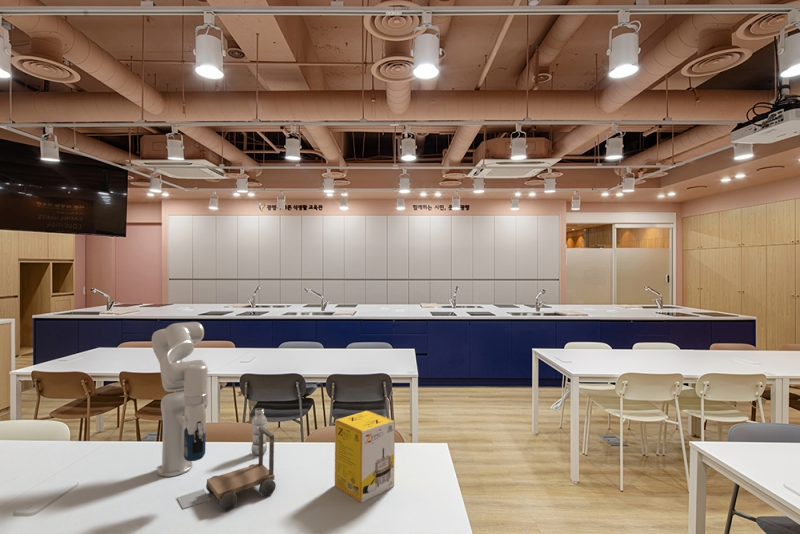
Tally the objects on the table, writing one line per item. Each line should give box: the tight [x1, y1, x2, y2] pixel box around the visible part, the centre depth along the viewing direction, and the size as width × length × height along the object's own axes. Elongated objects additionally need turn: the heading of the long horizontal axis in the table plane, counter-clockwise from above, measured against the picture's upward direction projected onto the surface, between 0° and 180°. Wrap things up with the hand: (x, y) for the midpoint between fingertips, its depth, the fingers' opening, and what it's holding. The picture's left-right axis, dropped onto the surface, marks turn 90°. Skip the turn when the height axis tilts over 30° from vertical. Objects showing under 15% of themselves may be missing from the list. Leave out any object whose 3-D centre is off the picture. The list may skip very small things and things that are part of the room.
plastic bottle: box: [250, 407, 268, 456], centre depth 181 cm, size 6×7×20 cm
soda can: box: [184, 426, 207, 462], centre depth 144 cm, size 7×7×12 cm
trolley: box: [205, 427, 277, 512], centre depth 148 cm, size 20×16×21 cm
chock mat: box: [176, 488, 212, 510], centre depth 144 cm, size 9×9×1 cm
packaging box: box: [334, 410, 396, 503], centre depth 154 cm, size 16×16×25 cm
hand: (194, 448), depth 144 cm, fingers closed on soda can, 6 cm apart
